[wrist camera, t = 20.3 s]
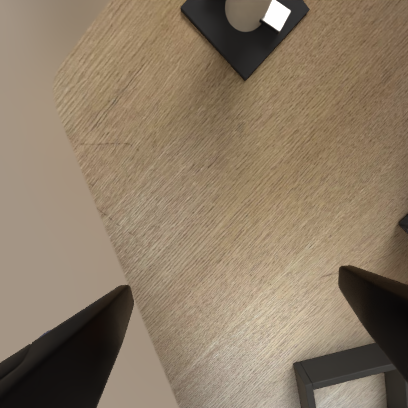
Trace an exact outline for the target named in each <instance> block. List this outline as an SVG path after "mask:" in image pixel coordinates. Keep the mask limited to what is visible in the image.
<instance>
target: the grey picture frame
mask: <svg viewBox="0 0 408 408" xmlns="http://www.w3.org/2000/svg"><path fill="white" fill-rule="evenodd" d="M294 369H295V375H296V381H297V386H298V392H299V397H300V403H301V408H316V404H315V398H314V392H313V390H315V389H319V388H323V387H327V386H331V385H335V384H339V383H343V382H347V381H351V380H355V379H359V378H363V377H367V376H371V375H375V374H379V373H383V372H385V382H386V393H387V404H388V408H408V383H407V382H406V381H405V379H404V378H403V377H402V376H401V374H400V373H399V372H398V370H397V369H396V368H395V366H394V365H393V364H392V363H391V361H390V360H389V359H388V357H387V356H386V355H385V353H384V352H383V351H382V350H381V348H380V347H379V346H378V344H377V343H374V344H370V345H366V346H362V347H358V348H354V349H350V350H345V351H341V352H337V353H333V354H329V355H325V356H321V357H317V358H313V359H309V360H305V361H301V362H297V363H294Z"/></svg>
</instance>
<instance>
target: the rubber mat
mask: <svg viewBox="0 0 408 408" xmlns="http://www.w3.org/2000/svg"><path fill="white" fill-rule="evenodd" d="M276 1H278V2H279V3H280V4H282V5H283V6H285V7H286V8H287V9H289V10H290V11H291V12H290V14H289V16H288V18H287V20H286V22H285V24H284V25H283V27H282V29H281V31H280V33H279V34H278V35H277V34H276V33H274V32H273V31H271V30H270V29H268V28H267V27H265V26H264V25H262V24H261V25H260V26H259V27H258V28H256V29H255V30H253V31H249V32H242V31H239V30H237V29H235V28H234V27H233V26H232V25H231V24H230V23H229V21H228V19H227V16H226V12H225V3H226V0H187V1H186V2H185V3H184V4H183V5H182V7H181V11H182V12H183V13H184V14H185V15H186V16H187V18H188V19H189V20H190V21H191V22H192V23H193V24H194V25H195V26H196V27H197V29H198V30H199V31H200V32H201V33H202V34H203V35H204V36H205V37H206V38H207V40H208V41H209V42H210V43H211V44H212V45H213V46H214V47H215V48H216V49H217V51H218V52H219V53H220V54H221V55H222V56H223V57H224V58H225V59H226V60H227V62H228V63H229V64H230V65H231V66H232V67H233V68H234V69H235V70H236V71H237V73H238V74H239V75H240V76H241V77H242V78H243V79H244V80H246V79H247V78H248V77H249V76H250V75H251V74H252V73H253V71H254V70H255V69H256V68H257V67H258V66H259V65H260V64H261V63H262V62H263V61H264V59H265V58H266V57H267V56H268V55H269V54H270V53H271V52H272V51H273V50H274V49H275V47H276V46H277V45H278V44H279V43H280V42H281V41H282V40H283V39H284V38H285V37H286V35H287V34H288V33H289V32H290V31H291V30H292V29H293V28H294V27H295V26H296V24H297V23H298V22H299V21H300V20H301V19H302V18H303V17H304V16H305V15H306V14H307V12H308V11H309V10H310V9H309V8H308V7H307V5H306V4H305V3H304V1H303V0H276Z"/></svg>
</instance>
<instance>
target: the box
mask: <svg viewBox="0 0 408 408" xmlns="http://www.w3.org/2000/svg"><path fill="white" fill-rule="evenodd" d="M399 225H400V226H401V227H402V228H403V229H404V230H405V232H406V233H408V215H407V216H406V217H405V218H404V219H403V220H402V221H401V222H400V223H399Z"/></svg>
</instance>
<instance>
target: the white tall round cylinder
mask: <svg viewBox="0 0 408 408" xmlns="http://www.w3.org/2000/svg"><path fill="white" fill-rule="evenodd" d="M225 12H226V16H227V19H228V21H229V23H230V24H231V25H232V26H233V27H234V28H235V29H237V30H239V31H242V32H249V31H253V30H255V29H256V28H258V27H259V26H260V25H261V24H262V25H264V26H265V27H267V28H268V29H270V30H271V31H273V32H274V33H276V34H277V35H278V34H279V33H280V31H281V29H282V27H283V25H284V24H285V22H286V20H287V18H288V16H289V14H290V12H291V11H290V10H289V9H287V8H286V7H285V6H283V5H282V4H280V3H279V2H278V1H276V0H226V3H225Z"/></svg>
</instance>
